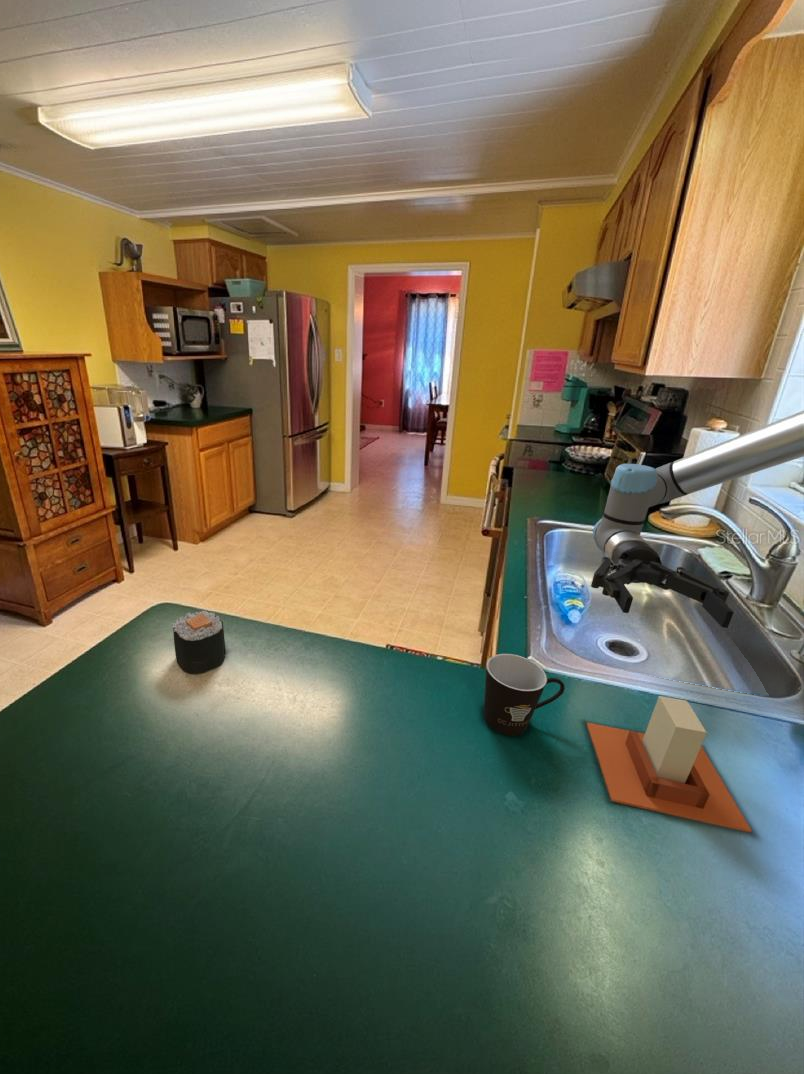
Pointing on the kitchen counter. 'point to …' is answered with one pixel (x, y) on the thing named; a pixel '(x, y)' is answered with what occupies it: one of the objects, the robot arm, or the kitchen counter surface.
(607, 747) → the base pad
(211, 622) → the sushi
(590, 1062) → the kitchen counter surface
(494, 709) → the coffee mug
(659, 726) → the block
